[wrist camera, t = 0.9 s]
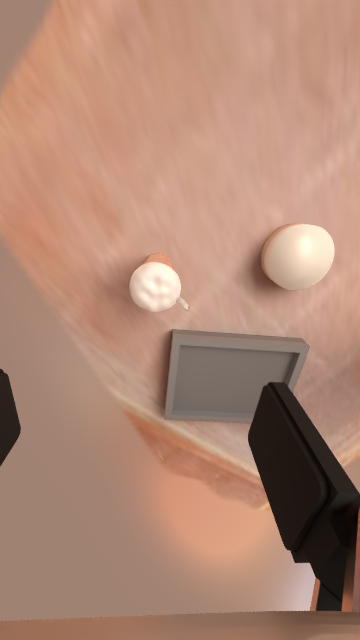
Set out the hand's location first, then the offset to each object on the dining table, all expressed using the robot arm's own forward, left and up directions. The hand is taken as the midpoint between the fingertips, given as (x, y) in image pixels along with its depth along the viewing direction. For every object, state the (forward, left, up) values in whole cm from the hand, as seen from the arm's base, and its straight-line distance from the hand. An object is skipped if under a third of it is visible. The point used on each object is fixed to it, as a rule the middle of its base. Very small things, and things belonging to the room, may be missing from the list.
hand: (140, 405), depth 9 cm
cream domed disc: (-15, -3, -22) cm, 27 cm away
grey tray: (-11, +15, -22) cm, 29 cm away
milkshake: (0, 0, -22) cm, 22 cm away
